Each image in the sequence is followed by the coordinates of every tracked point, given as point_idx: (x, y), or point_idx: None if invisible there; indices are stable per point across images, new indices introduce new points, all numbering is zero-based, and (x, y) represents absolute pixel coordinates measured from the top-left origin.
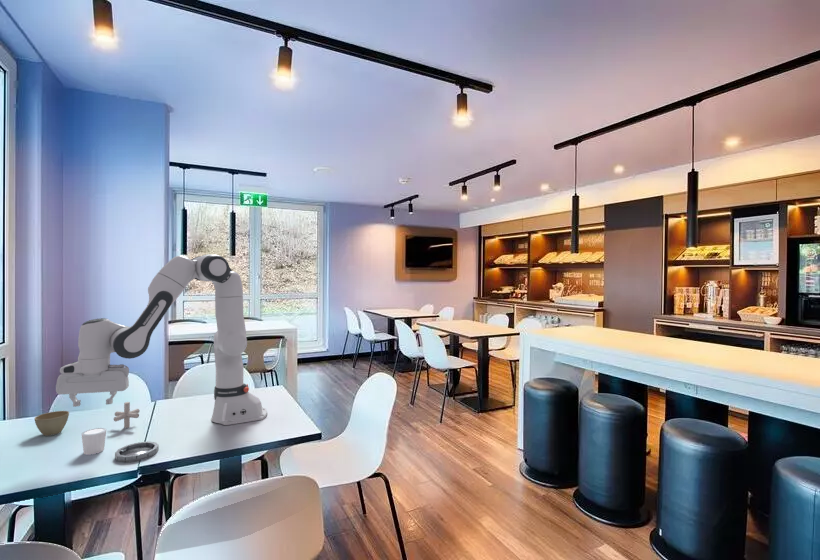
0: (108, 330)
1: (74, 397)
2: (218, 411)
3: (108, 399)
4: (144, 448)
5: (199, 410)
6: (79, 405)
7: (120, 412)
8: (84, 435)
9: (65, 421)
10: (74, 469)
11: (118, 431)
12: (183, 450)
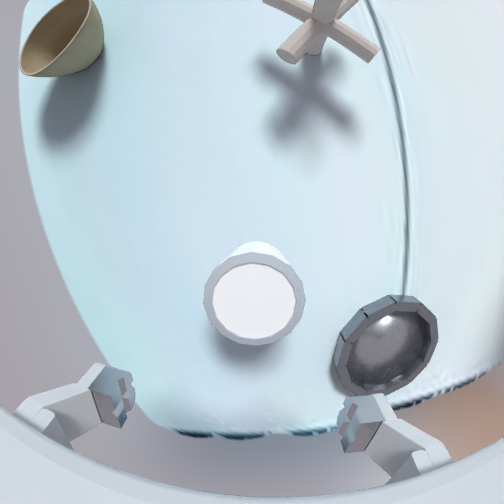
0: None
1: (65, 418)
2: None
3: (362, 447)
4: (405, 325)
5: (476, 33)
6: (131, 382)
7: (290, 2)
8: (226, 336)
9: (95, 33)
10: (242, 386)
11: (292, 79)
12: (466, 348)
